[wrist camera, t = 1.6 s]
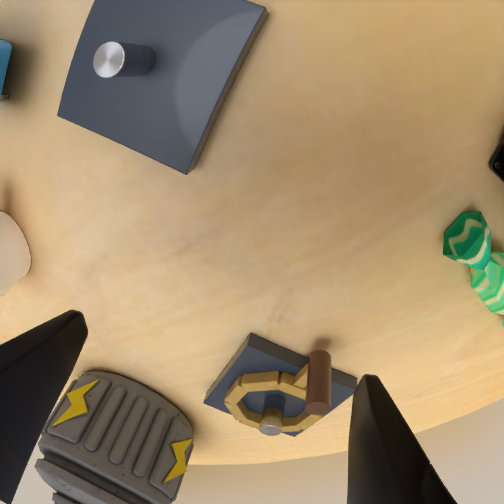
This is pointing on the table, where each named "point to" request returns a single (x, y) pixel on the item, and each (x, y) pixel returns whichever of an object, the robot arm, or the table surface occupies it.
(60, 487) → the decorative lamp
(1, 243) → the mug
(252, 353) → the far stand
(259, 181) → the table surface
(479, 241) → the candy
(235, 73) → the near stand
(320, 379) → the ring
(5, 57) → the alarm clock
